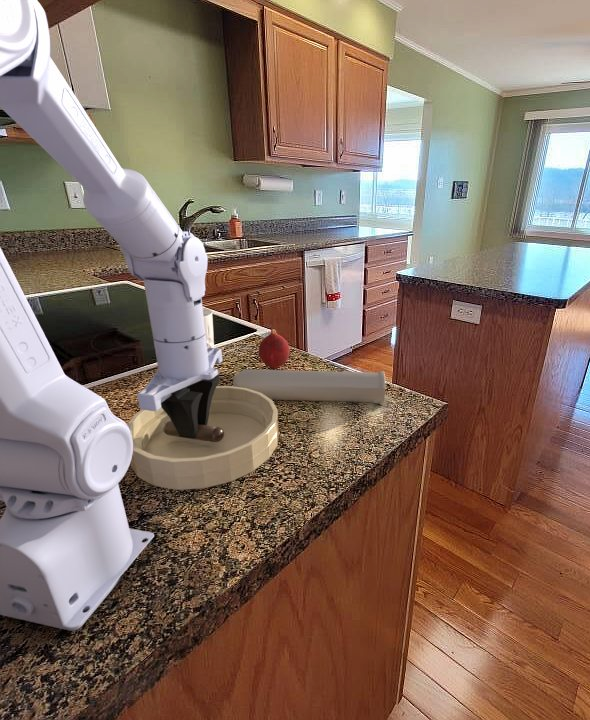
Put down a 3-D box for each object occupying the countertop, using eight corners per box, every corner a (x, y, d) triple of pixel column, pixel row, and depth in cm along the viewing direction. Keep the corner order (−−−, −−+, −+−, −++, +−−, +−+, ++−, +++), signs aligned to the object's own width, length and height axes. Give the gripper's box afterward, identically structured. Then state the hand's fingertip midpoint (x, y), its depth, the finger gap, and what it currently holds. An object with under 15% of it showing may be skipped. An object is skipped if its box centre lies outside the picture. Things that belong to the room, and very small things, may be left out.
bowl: (242, 505, 44) (239, 472, 42) (95, 480, 46) (86, 448, 44) (296, 420, 60) (295, 394, 59) (186, 405, 63) (182, 379, 61)
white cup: (181, 354, 81) (174, 306, 78) (221, 354, 82) (216, 307, 78) (168, 370, 74) (160, 318, 70) (211, 369, 75) (206, 319, 71)
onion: (295, 371, 76) (294, 332, 73) (266, 377, 73) (264, 337, 70) (283, 360, 81) (281, 323, 78) (255, 366, 78) (252, 327, 75)
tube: (225, 384, 61) (385, 388, 62) (234, 361, 65) (384, 365, 66) (231, 407, 65) (383, 410, 66) (239, 384, 69) (382, 387, 70)
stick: (227, 437, 53) (226, 425, 53) (220, 446, 52) (218, 433, 51) (170, 429, 54) (168, 416, 54) (161, 437, 53) (158, 424, 52)
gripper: (173, 361, 40) (190, 470, 45) (239, 320, 53) (246, 408, 59) (111, 353, 41) (134, 461, 46) (190, 315, 54) (202, 402, 60)
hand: (193, 431), depth 53 cm, fingers closed on stick, 2 cm apart
